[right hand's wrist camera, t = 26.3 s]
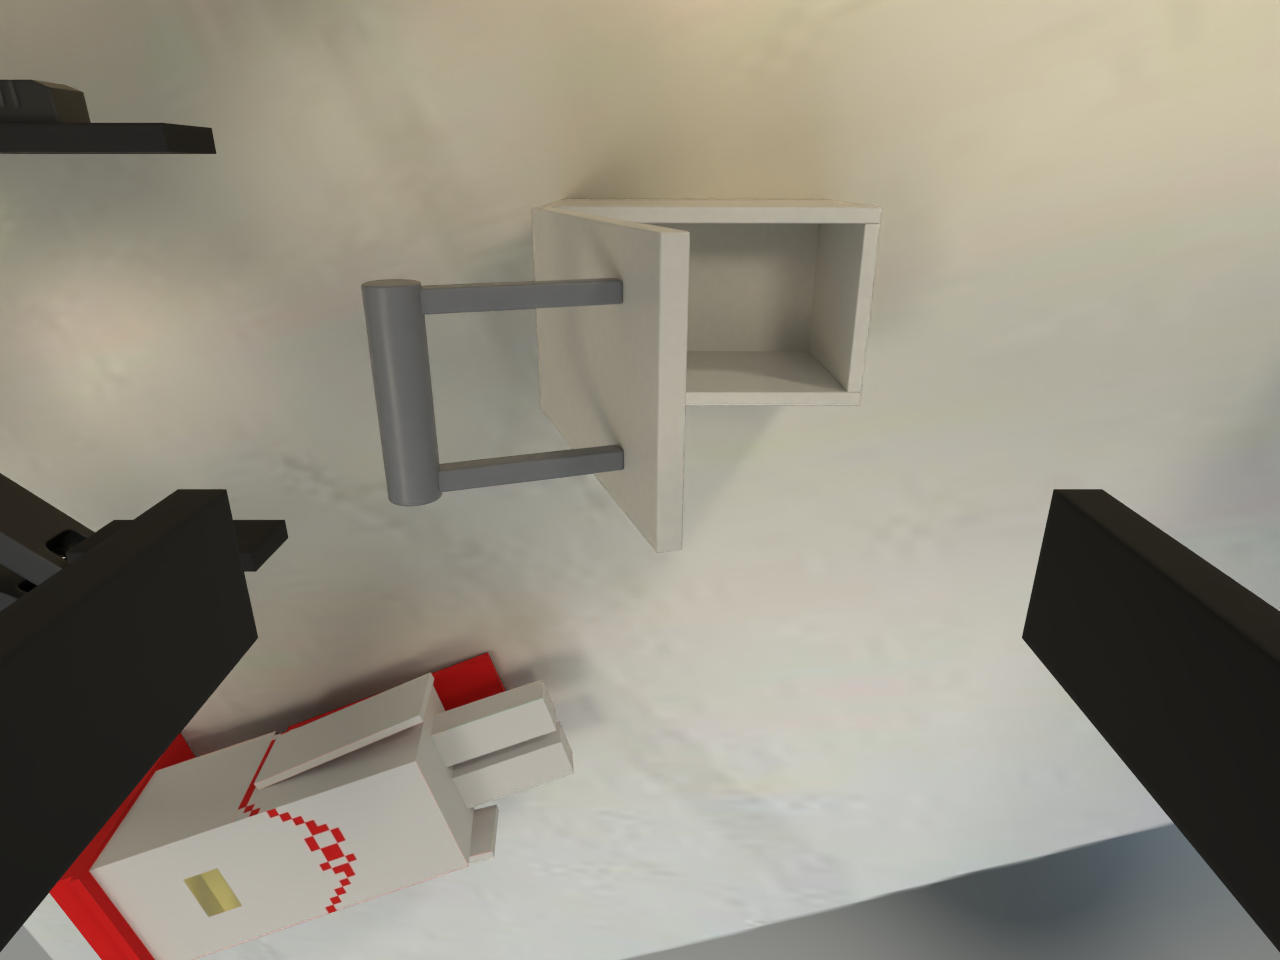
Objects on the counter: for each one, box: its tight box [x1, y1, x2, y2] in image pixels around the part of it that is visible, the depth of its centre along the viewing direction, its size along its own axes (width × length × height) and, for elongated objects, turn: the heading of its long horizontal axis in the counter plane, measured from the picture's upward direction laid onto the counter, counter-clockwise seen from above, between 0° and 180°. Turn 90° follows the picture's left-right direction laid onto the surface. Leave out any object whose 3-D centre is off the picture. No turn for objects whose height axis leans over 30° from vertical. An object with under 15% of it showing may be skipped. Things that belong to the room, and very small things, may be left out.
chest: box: [543, 199, 882, 406], centre depth 40 cm, size 15×9×10 cm, turn 90°
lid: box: [361, 207, 690, 553], centre depth 27 cm, size 16×9×8 cm
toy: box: [49, 653, 574, 960], centre depth 52 cm, size 12×13×30 cm
